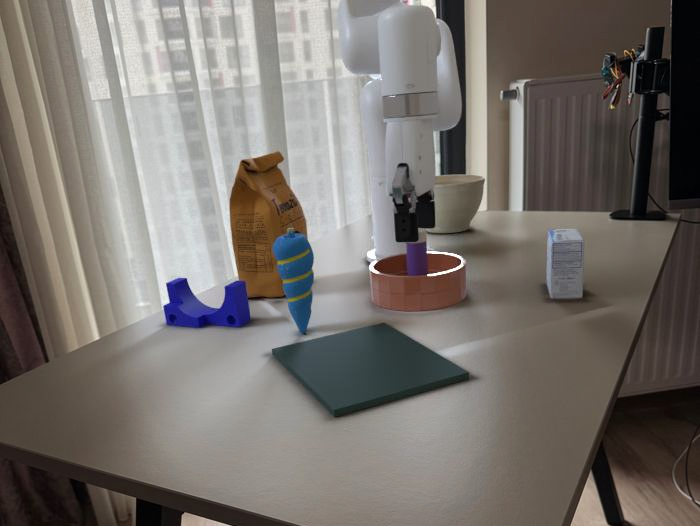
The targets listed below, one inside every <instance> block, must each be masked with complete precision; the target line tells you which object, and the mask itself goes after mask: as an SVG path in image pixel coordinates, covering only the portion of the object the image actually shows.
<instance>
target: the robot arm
mask: <svg viewBox="0 0 700 526" xmlns="http://www.w3.org/2000/svg"><path fill="white" fill-rule="evenodd" d="M337 8H338V9H337V29H338V39H339V49H340V55H341V59H342V63H343V66H344V67H345V68H346V69H347V71H348V72H349V73H351V74H353V75H357V76H368V77H370V78H371V79H372V80H370V81H368V82H367V83H365V84H364V86H362V88H361V90H360V93H359V99H358V105H359V113H360V117H361V122H362V123H361V124H362V127H363V132H364V137H365V143H366V153H367V161H368V174H369V175H368V176H369V187H370V201H371V204H370V205H371V217H372V230H373V231H372V232H373V234H372V235H371V237H370V238H371V240H372V241H373V245H374V248H373V249H371V250H370V251H368V252H367V253H366V260H367V261H368V262H369V263H370V264H371V263H373V262H375V261H377V260H379V259H382V258H385V257H388V256H392V255H397V254H404V253H407V252H406V242H417V241H418V240H419V232H418V228H424V229H432V228H434V227H435V201H434V191H433V187H434V185H435V178H436V176H437V174H436V172H437V171H436V169H437V168H436V150H435V137H434V136H435V135H434V134H435V133H434V132H442V131H448V130H451V129H453V128H454V127H457V125H458V123H459V122H460V120H461V117H462V110H463V101H462V100H463V99H462V91H461V85H460V78H459V70H458V65H457V58H456V51H455V44H454V39H453V36H452V35H453V34H452V32H451V29H450V27H449V25H448V24H447V23H446V22H445V21H444V20H442V19H440V18H436V15H435V13H434V10H433V9H432V8H431V7H429V6H427V5H424V4H408V5H406V4H405V2H404V0H339V2H338V7H337ZM427 252H435V249H434V248H433V247H431V246H429V245H427Z"/></svg>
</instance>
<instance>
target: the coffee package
mask: <svg viewBox="0 0 700 526" xmlns="http://www.w3.org/2000/svg"><path fill="white" fill-rule="evenodd" d="M284 160H285V157H284V156H283V154H282V153H281V151H279V150H278V151H275V152H272V153H271V152H270V153H268V154H263V155H261V156H257V157H252V158H251V157H250V158H243V159H241V160H240V161H239V164H238V169H237V172H236V174H235V178H234V182H233V185H232V187H231V191H230V196H229V224H230V233H231V245H232V249H233V256H234V260H235V261H234V262H235V266H236V271H237V272H236V273H237V278H238V281H245V283H246V290H247V296H248V299H249V298H261V297H264V298H279V297H280V298H281V297H285V296H286V294H285V292H284V290H283V280H282V278H281V276H280V275H279V272H278V270H277V264H278V261H277V259H276V258H275V256H274V253H273V244H274V242H275V240H276V239H277V238H278V237H280V236H282V235H287V234H288V233H287V228H289V227H290V228H294V234H302V235H304V236H305V237H306V238H307V240H308V241H309V238H308V237H309V235H308V225H307V219H306V216H305V212H304V210H303V207H302V204H301V203H300V200H299V199H298V197H297V196H296V193H295V192H294V191H293V189H292V188H291V187H290V185H289V184H288V183H287V180H286V178H285V176H284V174H283V171H282V169H281V168H280V167H279V165H280V164H281V163H283V162H284ZM290 224H291V225H290Z"/></svg>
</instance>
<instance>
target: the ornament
mask: <svg viewBox="0 0 700 526" xmlns="http://www.w3.org/2000/svg"><path fill="white" fill-rule="evenodd" d="M290 225H291V224H290ZM287 233H288V234H287V235H282V236H280V237H278V238H277V239H276V240H275V242H274V244H273V253H274V256H275V258H276V259H277V261H278V264H277V270H278V272H279V275H280V276H281V278H282V280H283V290H284V292H285V297H286V298H287V307H288V308H287V309H288V311H289V313H290V315H291V317H292V319H293V321H294V322H295V325H296V328H297V329H298V331H299V333H300V334H301V335H304V334H306V331H307V329H308V327H309V322H310V319H311V315H312V303H313V296H314V294H313V289H312V287H313V283H314V280H315V274H314V270H313V266H314V261H315V256H314V251H313V248H312V245H311V243H310V241H309V239H308V240H307V238H306V237H305V236H304V235H302V234H294V228H290V227H289V228H287Z"/></svg>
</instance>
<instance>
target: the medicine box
mask: <svg viewBox="0 0 700 526" xmlns="http://www.w3.org/2000/svg"><path fill="white" fill-rule="evenodd" d="M546 236H547V237H546V238H547V239H546V277H545V278H546V279H545V280H546V282H545V283H546V286H547V289H548V293H549V297H550V299H582V298H583V294H584V293H583V292H584V270H585V269H584V265H585V240H584V238H583V237H582V234H581V233H580V230H579V229H578V228H557V229H550V230H548V231H547V234H546Z"/></svg>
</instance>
